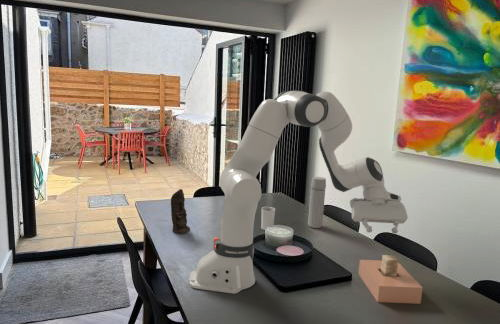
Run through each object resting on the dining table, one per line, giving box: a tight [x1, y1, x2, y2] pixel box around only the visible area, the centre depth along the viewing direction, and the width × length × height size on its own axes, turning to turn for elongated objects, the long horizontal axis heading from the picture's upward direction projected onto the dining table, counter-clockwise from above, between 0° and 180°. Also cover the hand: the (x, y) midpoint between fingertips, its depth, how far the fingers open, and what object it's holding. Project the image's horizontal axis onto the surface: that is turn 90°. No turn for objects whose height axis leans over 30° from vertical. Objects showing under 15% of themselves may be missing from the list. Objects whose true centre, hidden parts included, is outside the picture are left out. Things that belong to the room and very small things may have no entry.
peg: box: [380, 254, 400, 277], centre depth 130 cm, size 4×4×10 cm
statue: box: [170, 188, 191, 235], centre depth 173 cm, size 7×7×20 cm
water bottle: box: [307, 176, 327, 229], centre depth 191 cm, size 9×8×25 cm
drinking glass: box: [260, 206, 276, 231], centre depth 184 cm, size 7×7×10 cm
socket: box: [357, 259, 423, 305], centre depth 131 cm, size 14×20×6 cm
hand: (382, 232), depth 138 cm, fingers open, 8 cm apart
